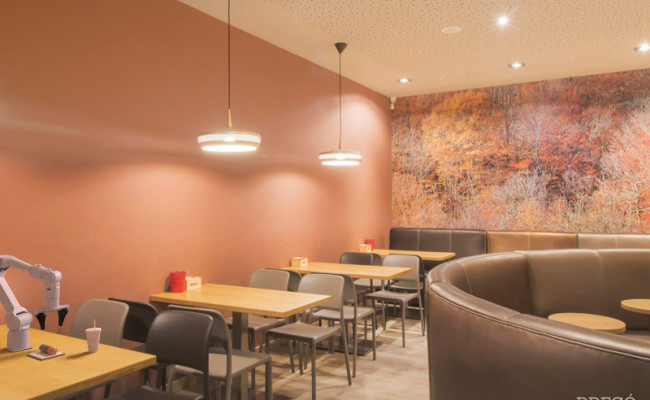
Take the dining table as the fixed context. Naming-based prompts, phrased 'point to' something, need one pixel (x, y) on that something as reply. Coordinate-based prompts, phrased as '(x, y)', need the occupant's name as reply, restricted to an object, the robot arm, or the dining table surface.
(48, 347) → the marker
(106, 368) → the dining table surface
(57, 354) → the notepad
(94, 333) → the smoothie
